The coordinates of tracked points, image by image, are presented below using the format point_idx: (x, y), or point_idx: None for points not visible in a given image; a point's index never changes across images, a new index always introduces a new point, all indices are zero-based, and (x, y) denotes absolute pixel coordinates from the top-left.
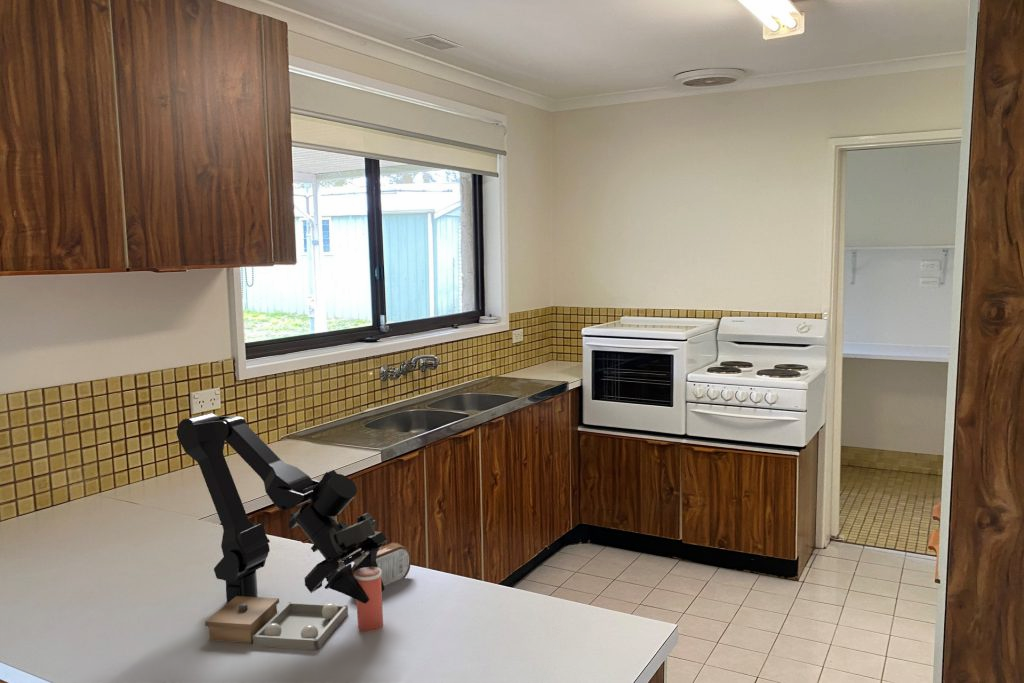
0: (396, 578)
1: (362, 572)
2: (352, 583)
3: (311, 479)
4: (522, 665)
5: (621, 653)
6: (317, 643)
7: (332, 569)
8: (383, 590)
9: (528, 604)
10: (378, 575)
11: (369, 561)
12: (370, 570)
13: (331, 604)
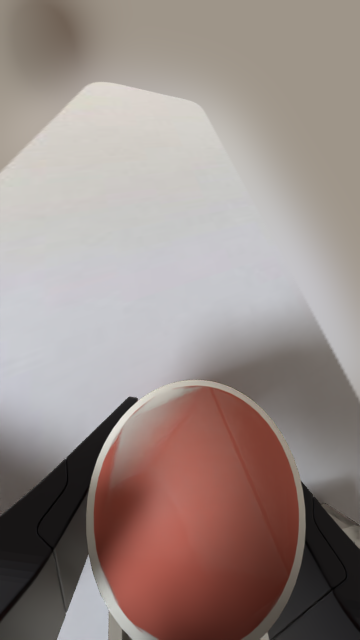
0: None
1: (216, 547)
2: (344, 533)
3: None
4: (217, 172)
5: (163, 108)
6: (347, 519)
7: None
8: (137, 399)
9: (33, 184)
10: (212, 383)
11: (18, 617)
12: (163, 488)
13: None
